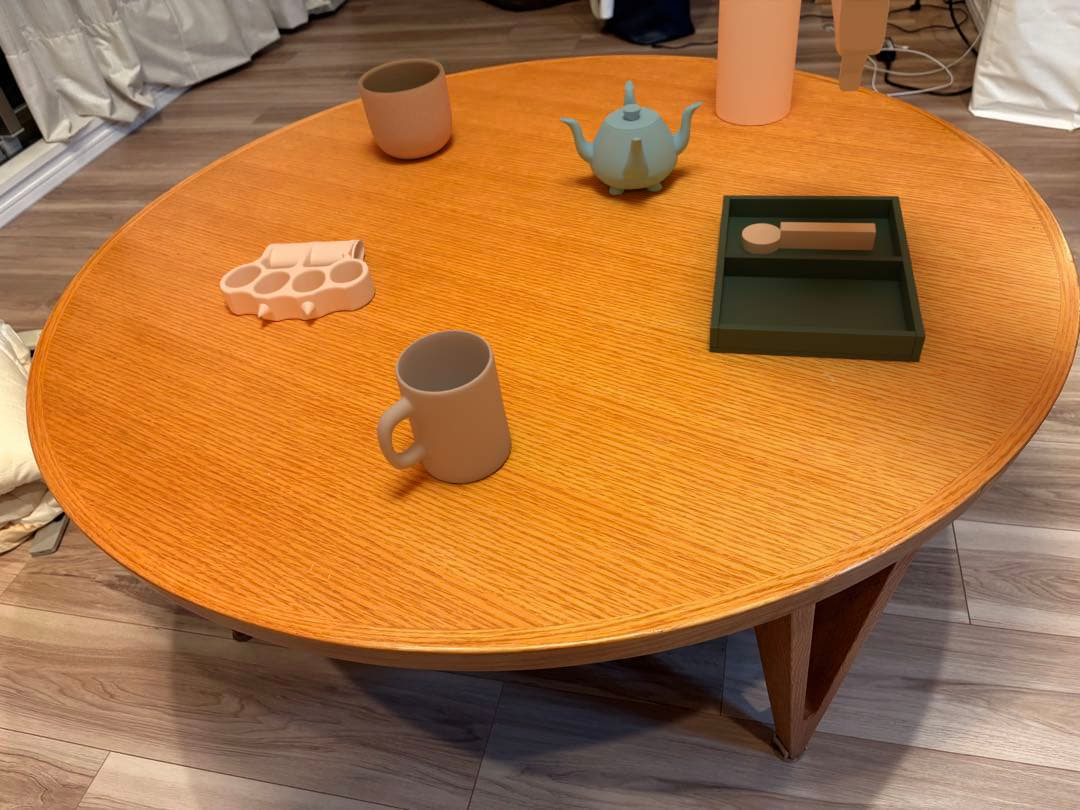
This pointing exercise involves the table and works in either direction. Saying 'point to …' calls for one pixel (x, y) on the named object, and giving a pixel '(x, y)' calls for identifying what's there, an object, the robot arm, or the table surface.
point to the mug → (448, 408)
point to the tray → (816, 284)
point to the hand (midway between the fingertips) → (845, 68)
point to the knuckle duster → (300, 281)
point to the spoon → (808, 236)
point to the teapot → (633, 146)
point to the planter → (407, 107)
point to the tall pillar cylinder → (756, 60)
